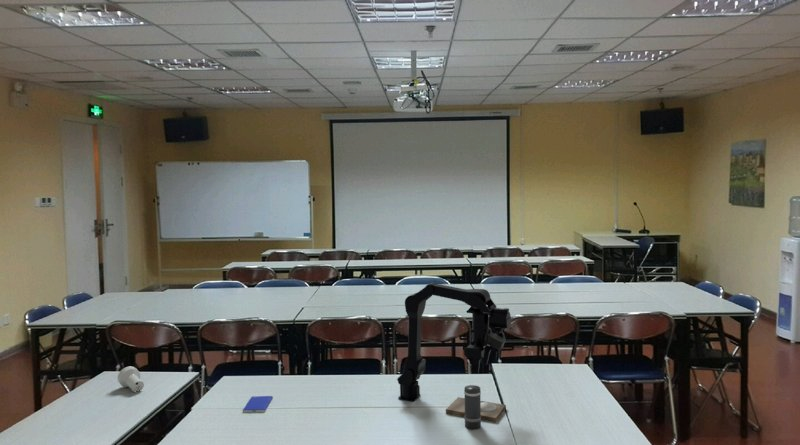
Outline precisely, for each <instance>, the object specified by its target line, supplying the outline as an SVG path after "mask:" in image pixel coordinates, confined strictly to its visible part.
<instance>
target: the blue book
mask: <svg viewBox="0 0 800 445" xmlns="http://www.w3.org/2000/svg"><path fill="white" fill-rule="evenodd" d="M273 399H274V396H272V395H261V396H260V395H259V396H258V395H257V396H254V395H253V396H251V397H250V398H249V399H248V401H247V402H246V405H245V406H244V407H243V409H242V413H266V412H267V409H268V408H269V406H270V404H271V403H272V401H273Z"/></svg>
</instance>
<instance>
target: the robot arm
mask: <svg viewBox="0 0 800 445" xmlns="http://www.w3.org/2000/svg"><path fill="white" fill-rule="evenodd" d="M433 296H437V297H440V298H445V299H449V300H450V299H451V300H455V301H460V302H463V303H464V304H465V305H468V306H470V307H469V308H468V309H467V310H466V311H465V312H466V313H467V314H472V315H471V316H472V317H471V318H472V322H471V323H472V328H471V329H470V333H472V339H471V340H470V344H468V345H467V346H466V347H465V348H464V349H463V356H465V357H466V358H467V360H468V362H469V363H470V365H471V367H472V370H473V371H474V373H475V374H476V375H477V374H479V373H480V366H481V362H482V365H483V366H487V365H488V362H489V358H490V354H491V351H492V349H494V348H495V350H498V351H501V350H502V349H503V348H504V347H505V346H504V345H505V343H506V341H507V339H506V338H507V337H506V336H505V332H503V331H500V332H498V333H496V332H495V333H494V332H492V328H496V329H510V328H511V324H512V316H511V313H510V308H506V307H505V308H499V307H497V305H496V304H495V302H494V301H493V299H492V298H491V294H490V292H489V291H488V290H487V289H484V288H469V289H468V288H467V289H466V288H461V287H456V286H449V285H445V284H440V283H436V282H431V283H428V284H427V285H425V286H424V288H422V289H420V290H419V291H418V292H415V293H413V294H411V295H408V296H407V297H406V298H405V299H404V309H405V312H406V315H407V317H408V332H407V333H408V337H407V338H408V340H407V341H408V342H407V356H406V359H405V362H404V364H403V371H402V374H400V375H399V376H398V377H397V379H396V380H397V382H398V385H399V392H400V393H399V395H400V396H398V398H397V399H398V400H403V401H409V402H415V401H416V400H417V399H419V398H420V396H421V391H420V390H421V389H420V388H421V386H420V384H419V379H420V378H421V376H422V375H423V374H424V372H425V371H426V368H427V367H426V362H427V361H426V359H425V358H423V357H422V354H421V351H422V350H421V346H422V345H421V343H422V335H421V334H422V317H423V314H424V312H425V309H426V304H427V301H428V300H430V299H431V297H433ZM490 326H491V327H492V328H491V327H490Z"/></svg>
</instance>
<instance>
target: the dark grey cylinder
mask: <svg viewBox="0 0 800 445" xmlns="http://www.w3.org/2000/svg"><path fill="white" fill-rule="evenodd" d="M481 393H482V391H481V387H480V386H478V385H476V384H474V385H473V384H470V385H466V386H464V391H463V394H464V398H465V417H464V427H465V428H466V429H467V430H471V431H472V430H473V431H475V430H479V429H480V428H482V424H481V422H482V420H481V402H480V401H481Z"/></svg>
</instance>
